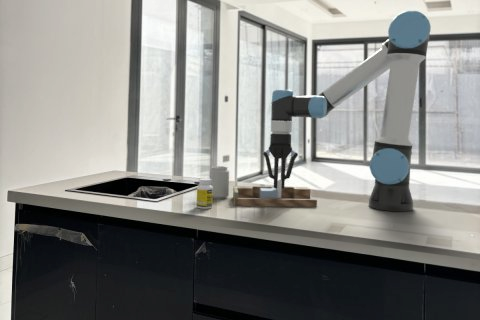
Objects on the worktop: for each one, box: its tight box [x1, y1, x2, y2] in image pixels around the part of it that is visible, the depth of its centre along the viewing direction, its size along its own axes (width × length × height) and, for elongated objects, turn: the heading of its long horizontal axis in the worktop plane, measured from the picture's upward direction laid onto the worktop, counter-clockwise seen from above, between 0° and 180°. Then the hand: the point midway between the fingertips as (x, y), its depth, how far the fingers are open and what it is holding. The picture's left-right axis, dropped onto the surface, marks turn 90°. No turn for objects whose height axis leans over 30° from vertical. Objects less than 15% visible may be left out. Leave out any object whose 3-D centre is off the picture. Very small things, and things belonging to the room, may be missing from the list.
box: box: [232, 185, 318, 208], centre depth 156 cm, size 29×16×4 cm, turn 93°
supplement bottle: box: [196, 177, 214, 210], centre depth 143 cm, size 5×5×10 cm
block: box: [260, 188, 278, 199], centre depth 154 cm, size 6×6×5 cm
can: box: [209, 165, 230, 200], centre depth 162 cm, size 8×8×12 cm
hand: (278, 197), depth 154 cm, fingers closed
